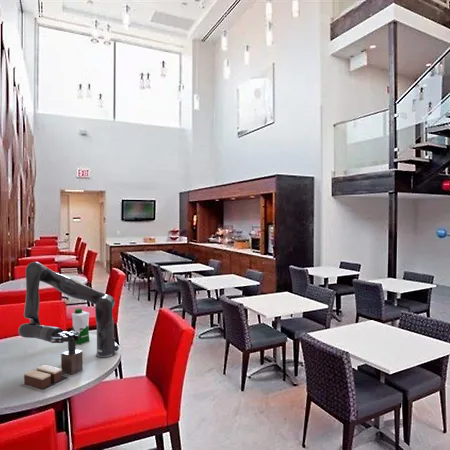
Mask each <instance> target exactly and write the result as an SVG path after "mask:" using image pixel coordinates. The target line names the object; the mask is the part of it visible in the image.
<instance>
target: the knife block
mask: <svg viewBox="0 0 450 450" xmlns="http://www.w3.org/2000/svg"><path fill="white" fill-rule="evenodd" d="M60 360H61V361H60V364H61V365H60V367H61V368H60V369H62V374H65V375H68V376H74V375H75V374H77V373H79V372H81V371H83V370H84V369H83V367H84V366H83V350H81V349H76V348H75V353H70V352H68V350H66V351H64V352H62V353H60Z"/></svg>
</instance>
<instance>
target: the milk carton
mask: <svg viewBox="0 0 450 450" xmlns="http://www.w3.org/2000/svg"><path fill="white" fill-rule="evenodd" d="M71 319H72V330H73V331H74V332H76V335H77V336H79V340H75V344H76V345H82V344H85V343H88V342H90V331H89V330H90V329H89V328H90V324H89V323H90V322H89V320H90V312H89V311H84V310H83V308H75V309H74V312H73V313H71Z"/></svg>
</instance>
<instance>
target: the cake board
mask: <svg viewBox="0 0 450 450" xmlns="http://www.w3.org/2000/svg"><path fill="white" fill-rule="evenodd" d="M67 379H69V377H68V376H64V375H62V379H61V380H59V381H57V382H55V383H53V382H51V385H49V386H47V387H45V388H43V389H41V388H37V387H34V386H30V385H27V384H24V382H22V383H21V385H24V386H27V387H31V388H34V389H38V390H40V391H45V390H48V389H49V388H51V387H53V386H55V385H58V384H59V383H61V382H63V381H65V380H67Z"/></svg>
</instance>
